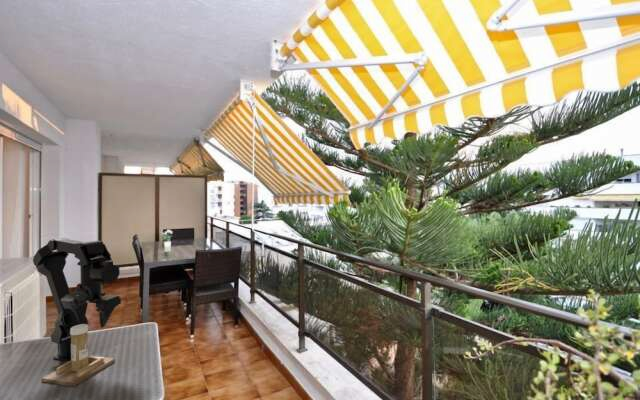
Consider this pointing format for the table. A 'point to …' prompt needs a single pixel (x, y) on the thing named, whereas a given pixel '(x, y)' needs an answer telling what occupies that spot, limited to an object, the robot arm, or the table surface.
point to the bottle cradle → (73, 378)
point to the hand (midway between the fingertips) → (91, 325)
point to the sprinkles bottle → (79, 346)
